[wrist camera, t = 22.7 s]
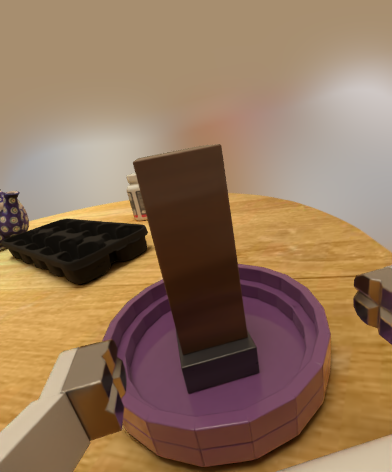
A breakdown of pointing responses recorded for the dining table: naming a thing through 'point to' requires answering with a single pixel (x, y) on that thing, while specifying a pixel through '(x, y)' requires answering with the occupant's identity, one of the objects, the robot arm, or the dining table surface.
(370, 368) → the dining table surface
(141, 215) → the pill bottle
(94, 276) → the black muffin tray
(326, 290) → the dining table surface
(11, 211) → the teapot
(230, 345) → the brown rectangular block
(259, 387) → the purple round dish
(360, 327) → the dining table surface
